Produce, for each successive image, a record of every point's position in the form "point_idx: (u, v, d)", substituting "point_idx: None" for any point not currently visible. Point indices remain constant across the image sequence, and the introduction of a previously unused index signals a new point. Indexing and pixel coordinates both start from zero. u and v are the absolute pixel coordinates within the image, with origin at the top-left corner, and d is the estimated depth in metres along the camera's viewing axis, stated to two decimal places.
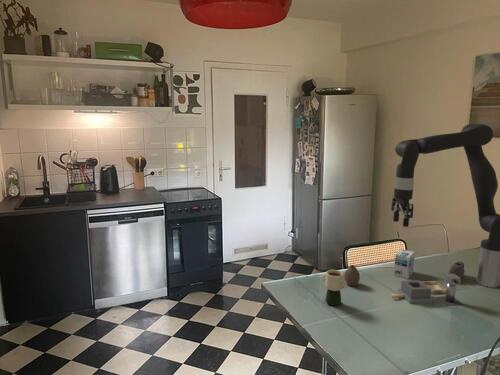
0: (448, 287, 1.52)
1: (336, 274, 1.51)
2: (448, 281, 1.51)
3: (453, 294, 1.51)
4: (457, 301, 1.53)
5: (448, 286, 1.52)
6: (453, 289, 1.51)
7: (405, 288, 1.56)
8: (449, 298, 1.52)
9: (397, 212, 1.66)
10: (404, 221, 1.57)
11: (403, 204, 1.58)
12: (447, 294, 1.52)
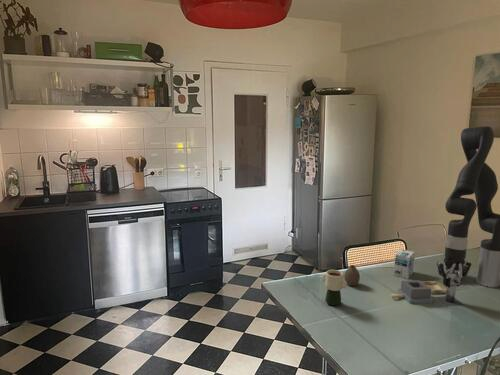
0: (448, 287, 1.52)
1: (336, 274, 1.51)
2: None
3: (453, 294, 1.51)
4: (457, 301, 1.53)
5: (448, 286, 1.52)
6: (453, 289, 1.51)
7: (405, 288, 1.56)
8: (449, 298, 1.52)
9: None
10: None
11: (462, 264, 1.50)
12: (447, 294, 1.52)
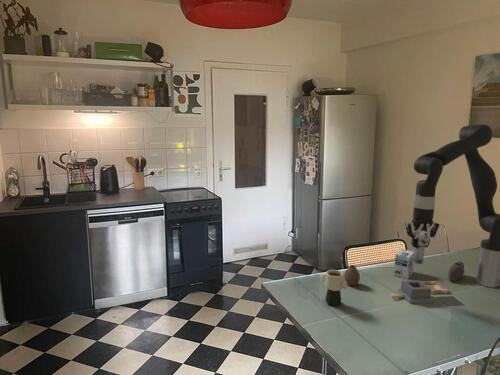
0: (417, 248, 1.52)
1: (336, 274, 1.51)
2: None
3: (421, 255, 1.51)
4: (457, 301, 1.53)
5: (416, 247, 1.52)
6: (421, 250, 1.51)
7: (405, 288, 1.56)
8: (417, 259, 1.52)
9: None
10: (428, 242, 1.51)
11: (430, 224, 1.50)
12: (416, 255, 1.52)
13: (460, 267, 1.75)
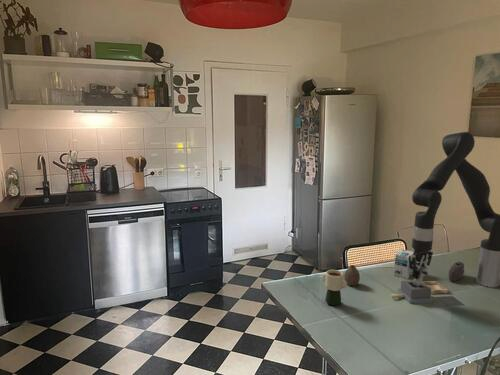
0: (417, 279, 1.53)
1: (336, 274, 1.51)
2: None
3: (421, 285, 1.53)
4: (457, 301, 1.53)
5: None
6: (421, 280, 1.53)
7: (405, 288, 1.56)
8: None
9: None
10: None
11: (427, 254, 1.53)
12: (416, 286, 1.53)
13: (460, 267, 1.75)
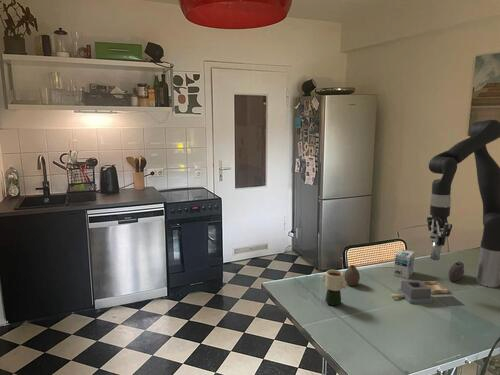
0: None
1: (336, 274, 1.51)
2: None
3: None
4: (457, 301, 1.53)
5: None
6: None
7: (405, 288, 1.56)
8: (439, 256, 1.58)
9: None
10: None
11: None
12: (439, 253, 1.57)
13: (460, 267, 1.75)
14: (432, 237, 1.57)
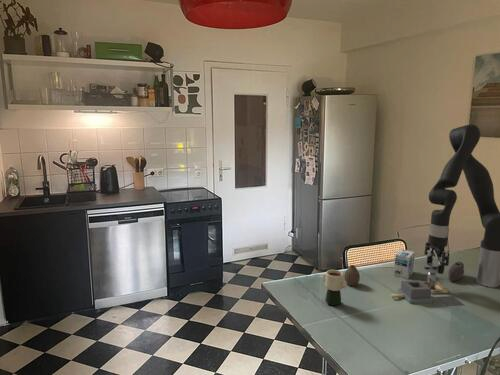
0: (435, 275, 1.62)
1: (336, 274, 1.51)
2: (436, 270, 1.61)
3: None
4: (457, 301, 1.53)
5: (435, 275, 1.62)
6: None
7: (405, 288, 1.56)
8: None
9: None
10: None
11: None
12: (434, 283, 1.63)
13: (460, 267, 1.75)
14: (426, 268, 1.62)
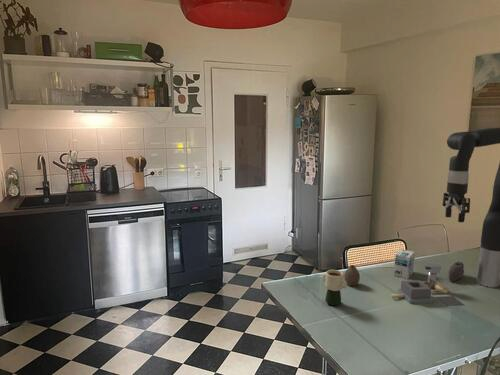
0: (435, 275, 1.62)
1: (336, 274, 1.51)
2: (437, 270, 1.61)
3: None
4: (457, 301, 1.53)
5: (435, 275, 1.62)
6: None
7: (405, 288, 1.56)
8: (435, 285, 1.63)
9: None
10: None
11: None
12: (434, 283, 1.63)
13: (460, 267, 1.75)
14: (427, 268, 1.62)
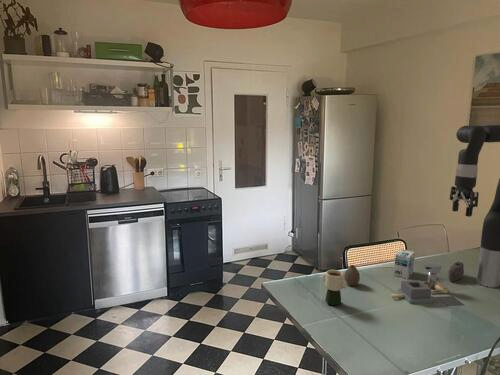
0: (435, 275, 1.62)
1: (336, 274, 1.51)
2: (437, 270, 1.61)
3: None
4: (457, 301, 1.53)
5: (435, 275, 1.62)
6: None
7: (405, 288, 1.56)
8: (435, 285, 1.63)
9: None
10: None
11: None
12: (434, 283, 1.63)
13: (460, 267, 1.75)
14: (427, 268, 1.62)
